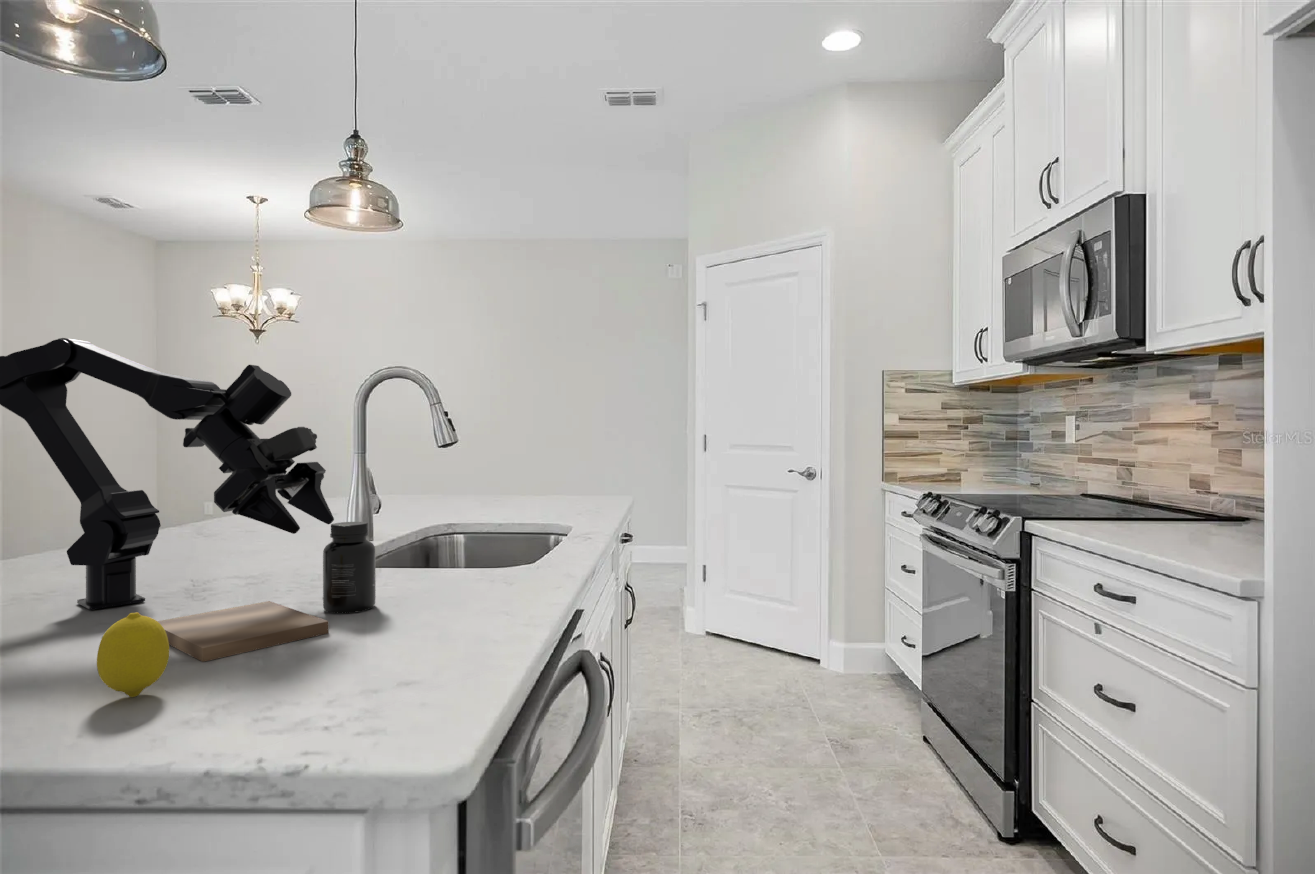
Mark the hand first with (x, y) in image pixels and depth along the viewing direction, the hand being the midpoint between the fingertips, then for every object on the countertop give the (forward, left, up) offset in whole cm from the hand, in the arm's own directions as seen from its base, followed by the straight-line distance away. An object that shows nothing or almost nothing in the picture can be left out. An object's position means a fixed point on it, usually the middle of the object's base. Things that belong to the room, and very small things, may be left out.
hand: (315, 526), depth 101 cm
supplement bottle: (+4, +3, -12) cm, 13 cm away
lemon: (+20, -27, -12) cm, 35 cm away
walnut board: (+6, -12, -11) cm, 18 cm away
